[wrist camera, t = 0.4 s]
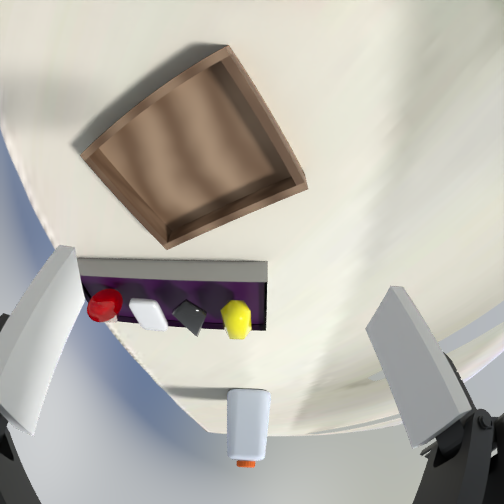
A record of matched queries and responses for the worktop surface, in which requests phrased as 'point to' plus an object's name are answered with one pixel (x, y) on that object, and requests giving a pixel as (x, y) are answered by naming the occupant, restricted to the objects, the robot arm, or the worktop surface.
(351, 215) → the worktop surface
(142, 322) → the decorative tray
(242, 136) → the wooden tray
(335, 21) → the worktop surface
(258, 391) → the plastic bottle
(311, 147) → the worktop surface
